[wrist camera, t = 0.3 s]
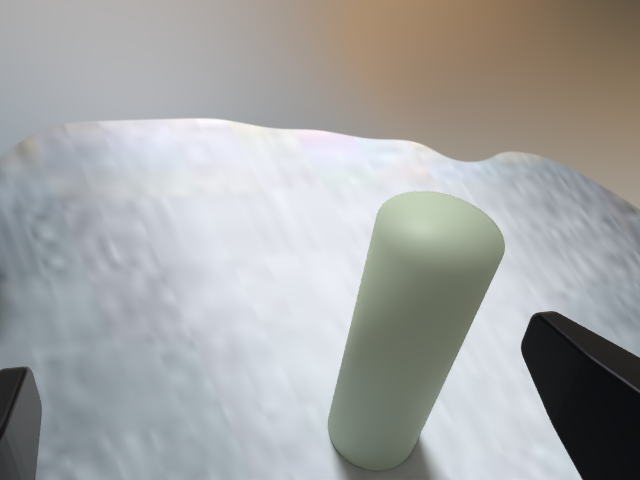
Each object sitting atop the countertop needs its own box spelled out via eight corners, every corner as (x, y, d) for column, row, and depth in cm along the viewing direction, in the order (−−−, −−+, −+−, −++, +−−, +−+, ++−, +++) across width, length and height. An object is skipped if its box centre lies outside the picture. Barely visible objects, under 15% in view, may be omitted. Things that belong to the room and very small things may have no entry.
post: (429, 460, 27) (529, 269, 18) (342, 479, 25) (404, 284, 17) (397, 382, 30) (468, 187, 21) (317, 396, 28) (359, 195, 20)
